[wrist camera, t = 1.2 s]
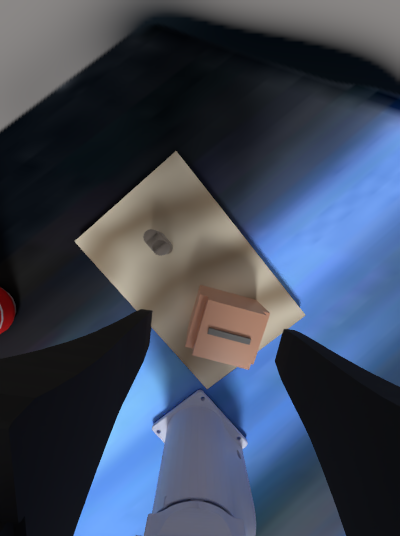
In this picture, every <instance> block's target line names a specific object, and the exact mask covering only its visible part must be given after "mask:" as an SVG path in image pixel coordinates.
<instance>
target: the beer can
mask: <svg viewBox="0 0 400 536" xmlns="http://www.w3.org/2000/svg"><path fill="white" fill-rule="evenodd" d="M15 313H16V305H15V302H14V299H13V298H12V296H11V295H10V294H9V293H8V292H7V291H5V290H4V289H2V288H1V287H0V334H1V333H2V332H4V331H5V330H7V329H8V328H9V327H10V325H11V324H12V323H13V320H14V317H15Z"/></svg>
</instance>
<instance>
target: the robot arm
mask: <svg viewBox="0 0 400 536" xmlns="http://www.w3.org/2000/svg"><path fill="white" fill-rule="evenodd" d="M152 312H153V310H145V309H140V310H138V311H136V312H134V313H132V314H130V315H128V316H127V317H125V318H123V319H121V320H119V321H117V322H115V323H113V324H111V325H109V326H106V327H104V328H102V329H100V330H98V331H96V332H93V333H91V334H88V335H86V336H83V337H80V338H78V339H75V340H72V341H69V342H66V343H62V344H59V345H55V346H52V347H49V348H45V349H42V350H38V351H34V352H30V353H26V354H22V355H17V356H12V357H8V358H3V359H0V536H73V535H74V532H75V529H76V526H77V523H78V520H79V517H80V515H81V512H82V509H83V506H84V504H85V501H86V498H87V495H88V492H89V490H90V487H91V484H92V481H93V479H94V476H95V473H96V470H97V468H98V465H99V462H100V460H101V457H102V454H103V452H104V449H105V446H106V444H107V441H108V438H109V436H110V433H111V431H112V428H113V426H114V423H115V420H116V418H117V415H118V413H119V411H120V409H121V406H122V404H123V402H124V400H125V398H126V396H127V394H128V392H129V390H130V388H131V386H132V384H133V382H134V380H135V378H136V376H137V374H138V371H139V369H140V367H141V365H142V363H143V361H144V358H145V355H146V352H147V349H148V347H149V342H150V332H151V322H152ZM275 363H276V366H277V369H278V372H279V375H280V377H281V380H282V382H283V384H284V386H285V388H286V390H287V392H288V394H289V396H290V398H291V400H292V402H293V404H294V406H295V408H296V410H297V412H298V414H299V416H300V418H301V420H302V422H303V424H304V426H305V428H306V431H307V433H308V435H309V437H310V439H311V442H312V444H313V447H314V449H315V452H316V454H317V457H318V459H319V462H320V464H321V467H322V469H323V472H324V475H325V477H326V480H327V483H328V485H329V488H330V491H331V493H332V496H333V499H334V502H335V504H336V507H337V510H338V513H339V516H340V519H341V522H342V525H343V528H344V530H345V533H346V536H400V387H399V386H397V385H395V384H392V383H390V382H388V381H386V380H384V379H382V378H380V377H378V376H376V375H374V374H372V373H370V372H368V371H366V370H365V369H363V368H361V367H359V366H357V365H355V364H354V363H352V362H350V361H348V360H346V359H345V358H343V357H341V356H339V355H338V354H336V353H334V352H333V351H331V350H329V349H328V348H326V347H324V346H323V345H321V344H319V343H317V342H316V341H314V340H312V339H311V338H309V337H307V336H305V335H304V334H302V333H300V332H298V331H295V330H289V329H284V330H283V333H282V337H281V341H280V344H279V348H278V351H277V355H276V359H275ZM201 397H204V398H201ZM152 430H153V431H154V433H155V434H156V435H157V436H158V437H159V438H160V439H161V440H162V441H163V442H164V449H163V455H162V460H161V466H160V471H159V477H158V482H157V488H156V494H155V499H154V505H153V510H152V514H148V517H147V522H146V527H145V533H144V536H255V534H256V515H255V509H254V504H253V499H252V494H251V489H250V484H249V480H248V475H247V470H246V465H245V460H244V456H243V451H242V449H243V448H245V447H246V446H247V440H246V438H245V437H244V436H243V435H242V434H241V433H240V432H239V430H238V429H237V428H236V427H235V426H234V425H233V424H232V423H231V422H230V420H229V419H228V418H227V417H226V416H225V415H224V414H223V413H222V412H221V410H220V409H219V408H218V407H217V406H216V405H215V404H214V403H213V402H212V400H211V399H210V398H209V397H208V396H207V395H206V394H205V393H204V392H203V391H202V390H198V391H196V392H195V393H194V394H192V395H191V396H190V397H188V398H187V399H186V400H184V401H183V402H182V403H180V404H179V405H178V406H176V407H175V408H174V409H172V410H171V411H170V412H169V413H167V414H166V415H165V416H163V417H162V418H161V419H159V420H158V421H157V422H155V423H154V424H153V426H152ZM159 430H160V431H159ZM136 536H140V535H136Z"/></svg>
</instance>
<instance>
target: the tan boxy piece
mask: <svg viewBox="0 0 400 536" xmlns="http://www.w3.org/2000/svg"><path fill="white" fill-rule="evenodd" d="M269 316H270V312H269V311H268V310H266V309H265V308H264V307H263V306H262V305H261V304H260V303H259V302H258V301H257V300H255V299H251V298H247V297H244V296H240V295H236V294H233V293H229V292H225V291H222V290H218V289H214V288H210V287H207V286H203V285H200V286H199V290H198V294H197V297H196V301H195V304H194V308H193V311H192V315H191V318H190V322H189V325H188V331H187V337H186V344H185V347H188V348H192V349H193V351H192V355H194V356H197V357H201V358H205V359H209V360H213V361H217V362H221V363H224V364H228V365H232V366H236V367H240V368H244V369H248V370H249V368H250V365H251V364H254V361H255V358H256V355H257V352H258V349H259V346H260V343H261V340H262V337H263V334H264V331H265V328H266V325H267V322H268V319H269Z"/></svg>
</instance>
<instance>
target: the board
mask: <svg viewBox="0 0 400 536" xmlns="http://www.w3.org/2000/svg"><path fill="white" fill-rule="evenodd" d="M75 242H76V244H77V245H78V246H79V247H80V248H81V249H82V250H83V251H84V252H85V254H86V255H87V256H88V257H89V258H90V259H91V260H92V261H93V263H94V264H95V265H96V266H97V267H98V268H99V269H100V270H101V271H102V273H103V274H104V275H105V276H106V277H107V278H108V279H109V280H110V282H111V283H112V284H113V285H114V286H115V287H116V288H117V289H118V290H119V292H120V293H121V294H122V295H123V296H124V297H125V298H126V299H127V300H128V302H129V303H130V304H131V305H132V306H133V307H134V308H135V309H136V311H138V310H140V309H145V310H153V312H152V322H151V327H152V328H153V329H154V331H155V332H156V333H157V334H158V335H159V336H160V337H161V338H162V340H163V341H164V342H165V343H166V344H167V345H168V346H169V347H170V348H171V350H172V351H173V352H174V353H175V354H176V355H177V356H178V357H179V358H180V360H181V361H182V362H183V363H184V364H185V365H186V366H187V367H188V369H189V370H190V371H191V372H192V373H193V374H194V375H195V376H196V377H197V379H198V380H199V381H200V382H201V383H202V384H203V385H204V386H205V388H206V389H208V388H210V387H211V386H212V385H214V384H215V383H216V382H218V381H219V380H220V379H222V378H223V377H224V376H226V375H227V374H228V373H230V372H231V371H232V370H234V369H235V368H236V366H232V365H228V364H224V363H221V362H217V361H213V360H209V359H205V358H201V357H197V356H194V355H192V351H193V349H192V348H188V347H185V344H186V337H187V331H188V325H189V322H190V318H191V315H192V311H193V308H194V304H195V301H196V297H197V294H198V290H199V286H200V285H203V286H207V287H210V288H214V289H218V290H222V291H225V292H229V293H233V294H236V295H240V296H244V297H247V298H251V299H255V300H257V301H258V302H259V303H260V304H261V305H262V306H263V307H264V308H265V309H266V310H268V311H269V312H270V316H269V319H268V322H267V325H266V328H265V331H264V334H263V337H262V340H261V343H260V346H259V349H258V351H259V350H260V349H262V348H263V347H264V346H266V345H267V344H268V343H270V342H271V341H272V340H274V339H275V338H276V337H277V336H279V335H280V334H281V333H283V330H284V329H288V328H289V327H291V326H292V325H293V324H295V323H296V322H297V321H299V320H300V319H301V318H303V317H304V316H305V314H304V313H303V311H302V310H301V309H300V307H299V306H298V305H297V304H296V302H295V301H294V300H293V299H292V297H291V296H290V295H289V294H288V292H287V291H286V290H285V288H284V287H283V286H282V285H281V283H280V282H279V281H278V280H277V278H276V277H275V276H274V274H273V273H272V272H271V271H270V269H269V268H268V267H267V266H266V264H265V263H264V262H263V260H262V259H261V258H260V257H259V255H258V254H257V253H256V252H255V250H254V249H253V248H252V247H251V245H250V244H249V243H248V241H247V240H246V239H245V238H244V236H243V235H242V234H241V233H240V231H239V230H238V229H237V227H236V226H235V225H234V224H233V222H232V221H231V220H230V219H229V217H228V216H227V215H226V214H225V212H224V211H223V210H222V208H221V207H220V206H219V205H218V203H217V202H216V201H215V200H214V198H213V197H212V196H211V194H210V193H209V192H208V191H207V189H206V188H205V187H204V186H203V184H202V183H201V182H200V180H199V179H198V178H197V177H196V175H195V174H194V173H193V172H192V170H191V169H190V168H189V167H188V165H187V164H186V163H185V161H184V160H183V159H182V158H181V156H180V155H179V154H178V153H177V151H175V152H174V153H173V154H172V155H171V156H170V157H169V158H168V159H166V160H165V161H164V162H163V163H162V164H161V165H160V166H159V167H157V168H156V169H155V170H154V171H153V172H152V173H151V174H150V175H148V176H147V177H146V178H145V179H144V180H143V181H142V182H141V183H140V184H138V185H137V186H136V187H135V188H134V189H133V190H132V191H131V192H129V193H128V194H127V195H126V196H125V197H124V198H123V199H122V200H120V201H119V202H118V203H117V204H116V205H115V206H114V207H113V208H111V209H110V210H109V211H108V212H107V213H106V214H105V215H104V216H103V217H101V218H100V219H99V220H98V221H97V222H96V223H95V224H94V225H92V226H91V227H90V228H89V229H88V230H87V231H86V232H85V233H83V234H82V235H81V236H80V237H79V238H78V239H77V240H76V241H75Z"/></svg>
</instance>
